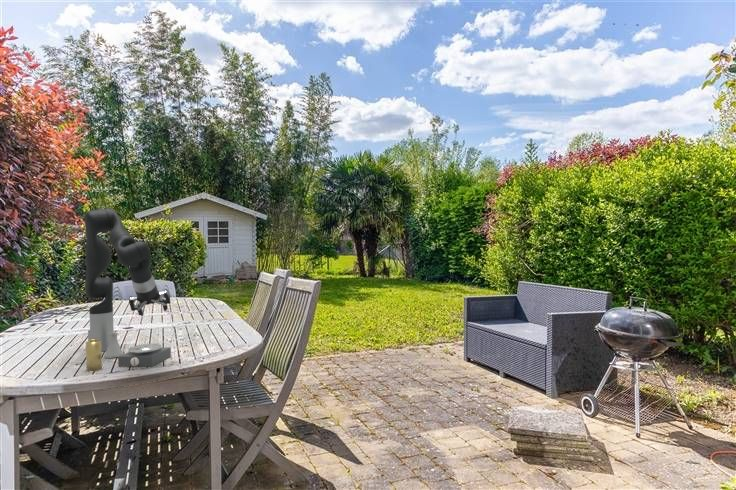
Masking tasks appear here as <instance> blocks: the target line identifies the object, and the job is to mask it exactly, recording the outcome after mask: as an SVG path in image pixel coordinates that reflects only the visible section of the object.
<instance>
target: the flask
mask: <svg viewBox="0 0 736 490" xmlns="http://www.w3.org/2000/svg"><path fill="white" fill-rule="evenodd" d="M109 335H110V341H109V345H108V347H107V350H106V351H105V352H104V353H105V354H104V356H103V357H104V359H115V358H118V356H120V355H123V354H124V353H123V351H122V348H121V346H120V343H119V341H118V335H119V333H118V332H114V333H110V334H109Z"/></svg>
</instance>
